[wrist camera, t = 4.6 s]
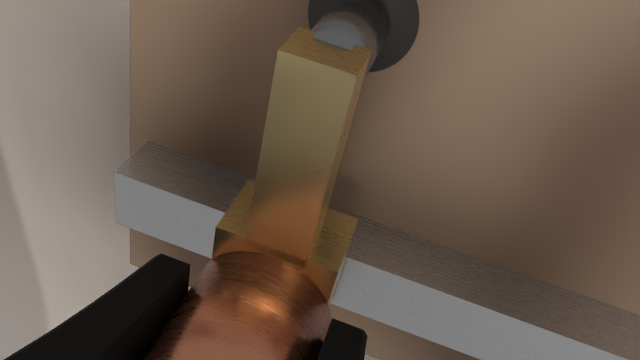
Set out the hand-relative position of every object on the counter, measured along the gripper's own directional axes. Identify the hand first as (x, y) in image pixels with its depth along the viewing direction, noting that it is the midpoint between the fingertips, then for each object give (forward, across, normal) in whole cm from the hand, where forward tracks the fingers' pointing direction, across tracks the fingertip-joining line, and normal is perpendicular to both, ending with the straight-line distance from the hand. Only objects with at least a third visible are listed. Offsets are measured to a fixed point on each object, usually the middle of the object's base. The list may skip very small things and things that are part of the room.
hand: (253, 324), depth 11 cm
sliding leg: (+4, 0, -2) cm, 4 cm away
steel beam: (+4, -6, +1) cm, 7 cm away
